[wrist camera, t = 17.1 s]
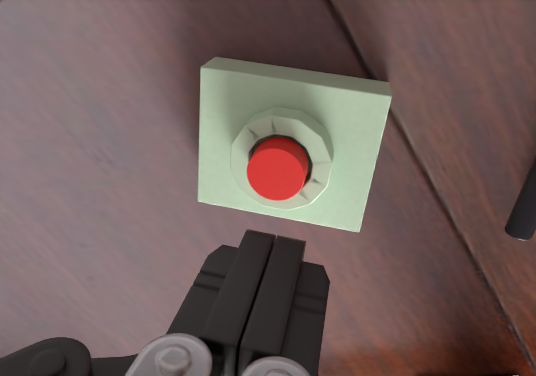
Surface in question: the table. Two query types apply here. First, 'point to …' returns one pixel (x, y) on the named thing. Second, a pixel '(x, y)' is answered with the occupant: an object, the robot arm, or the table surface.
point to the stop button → (277, 169)
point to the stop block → (290, 137)
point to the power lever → (524, 209)
